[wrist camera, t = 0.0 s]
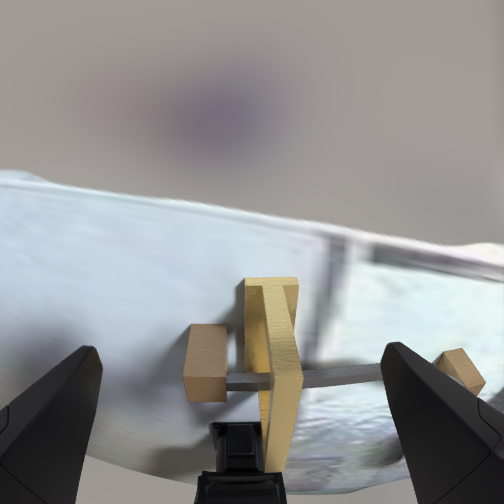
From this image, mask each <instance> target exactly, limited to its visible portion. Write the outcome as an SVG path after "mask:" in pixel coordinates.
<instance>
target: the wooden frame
mask: <svg viewBox="0 0 504 504" xmlns="http://www.w3.org/2000/svg"><path fill="white" fill-rule="evenodd" d="M298 290H299V283H298V280H297V277H269V278H245V373H264V372H270V375H271V389H270V390H269V391H258V398H259V410H260V423H261V436H262V448H263V460H264V473H273V472H284V468H285V464H286V460H287V455H288V451H289V447H290V442H291V438H292V433H293V429H294V424H295V419H296V415H297V410H298V405H299V400H300V395H301V390H302V385H303V379H304V377H303V372H302V368H301V363H300V359H299V354H298V350H297V346H296V341H295V337H294V326H295V317H296V308H297V299H298Z"/></svg>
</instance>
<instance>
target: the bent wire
mask: <svg viewBox="0 0 504 504" xmlns="http://www.w3.org/2000/svg"><path fill="white" fill-rule="evenodd" d="M227 364H228V344H227V324H191V328H190V334H189V340H188V346H187V352H186V359H185V365H184V372H183V380H184V385H185V390H186V395H187V400H188V401H191V402H227V391H269V390H270V389H271V375H270V372H264V373H227ZM437 368H438V369H439V370H441V371H442V372H444V373H445V374H447V375H448V376H449V377H451V378H452V379H454V380H455V381H456V382H458V383H459V384H461V385H462V386H463V387H465V388H466V389H468V390H469V391H471V392H472V393H473V394H475V395H476V396H478V394H479V393H480V391H481V390H482V388H483V386H484V385H485V383H486V382H485V380H484V379H483V377H482V376H481V374H480V373H479V371H478V370H477V368H476V367H475V366H474V364H473V363H472V361H471V360H470V358H469V357H468V356H467V354H466V353H465V351H464V350H463V349H462V348H460V349H456V350H451V351H446V352H443V354H442V356H441V359H440V361H439V363H438V365H437ZM302 372H303V377H304V379H303V385H302V389H304V388H317V387H327V386H337V385H346V384H355V383H362V382H370V381H377V380H383V377H382V373H381V368H380V363H376V364H369V365H360V366H351V367H341V368H331V369H319V370H305V371H302Z"/></svg>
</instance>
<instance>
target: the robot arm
mask: <svg viewBox="0 0 504 504" xmlns="http://www.w3.org/2000/svg"><path fill="white" fill-rule="evenodd" d="M380 368H381V373H382V377H383V381H384V386H385V390H386V395H387V400H388V404H389V408H390V411H391V415H392V418H393V421H394V424H395V427H396V430H397V433H398V436H399V439H400V442H401V446H402V449H403V452H404V455H405V459H406V462H407V466H408V469H409V472H410V476H411V480H412V483H413V487H414V490H415V494H416V497H417V502H418V504H504V414H503V413H501V412H499V411H498V410H496V409H495V408H493V407H492V406H490V405H489V404H487V403H486V402H485V401H483V400H482V399H480V398H479V397H478V398H477V396H476V395H475V394H473V393H472V392H471V391H469V390H468V389H466V388H465V387H463V386H462V385H461V384H459V383H458V382H456V381H455V380H454V379H452V378H451V377H449V376H448V375H447V374H445V373H444V372H442V371H441V370H439V369H438V368H437V367H435V366H434V365H432V364H431V363H430V362H428V361H427V360H425V359H424V358H422V357H421V356H420V355H418V354H417V353H415V352H414V351H413V350H411V349H410V348H408V347H407V346H405V345H404V344H403V343H401V342H391V343H388V344H387V345H386V348H385V351H384V353H383V356H382V359H381V363H380ZM102 372H103V367H102V363H101V360H100V358H99V355H98V352H97V350H96V348H95V347H94V346H86V345H83V346H81V347H80V348H78V349H77V350H76V351H74V352H73V353H72V354H71V355H69V356H68V357H67V358H65V359H64V360H63V361H62V362H60V363H59V364H58V365H57V366H55V367H54V368H53V369H51V370H50V371H49V372H48V373H46V374H45V375H44V376H43V377H41V378H40V379H39V380H38V381H36V382H35V383H34V384H32V385H31V386H30V387H29V388H27V389H26V390H25V391H24V392H22V393H21V394H20V395H19V396H18V397H16V398H15V399H14V400H13V401H11V402H10V403H9V405H6V406H5V407H4V408H3V409H1V410H0V504H75V501H76V496H77V490H78V486H79V480H80V476H81V471H82V466H83V462H84V457H85V454H86V449H87V445H88V441H89V437H90V433H91V429H92V425H93V421H94V418H95V413H96V408H97V402H98V396H99V390H100V384H101V378H102ZM212 432H213V438H214V445H215V450H217V458H216V472H207V471H202V475H201V476H198V486H197V492H196V497H195V501H194V504H287V500H286V493H285V488H284V483H283V477H282V472H273V473H264V460H263V448H262V436H261V423H260V422H255V423H213V424H212Z"/></svg>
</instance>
